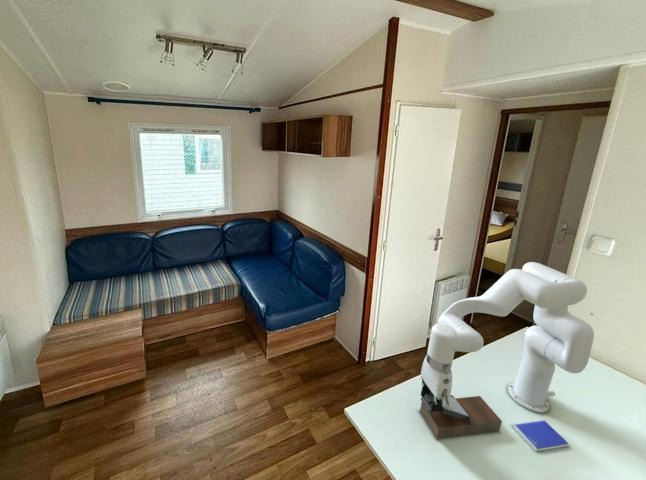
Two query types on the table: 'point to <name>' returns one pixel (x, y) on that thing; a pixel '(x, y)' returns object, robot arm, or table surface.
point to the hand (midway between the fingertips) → (430, 402)
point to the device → (446, 407)
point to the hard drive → (540, 435)
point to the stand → (454, 427)
